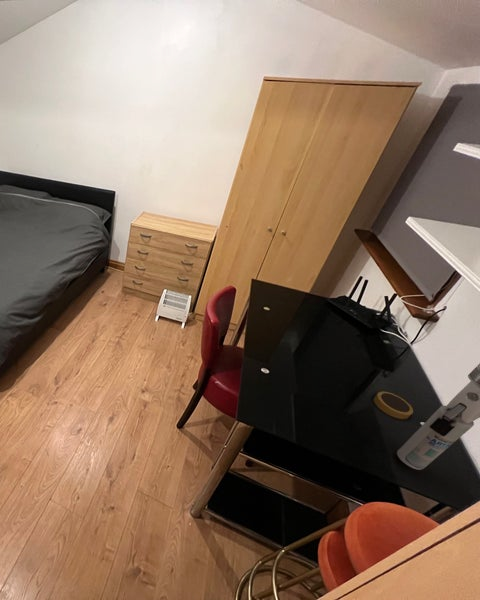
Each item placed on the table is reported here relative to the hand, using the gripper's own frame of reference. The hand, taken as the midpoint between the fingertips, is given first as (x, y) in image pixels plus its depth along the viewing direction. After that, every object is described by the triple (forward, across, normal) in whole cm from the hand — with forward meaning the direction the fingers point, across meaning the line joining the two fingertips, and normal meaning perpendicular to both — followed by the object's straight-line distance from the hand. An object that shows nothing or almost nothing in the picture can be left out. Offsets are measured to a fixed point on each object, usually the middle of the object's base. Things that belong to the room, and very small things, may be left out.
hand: (444, 427), depth 87 cm
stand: (+17, +21, +15) cm, 31 cm away
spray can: (+15, 0, 0) cm, 15 cm away
